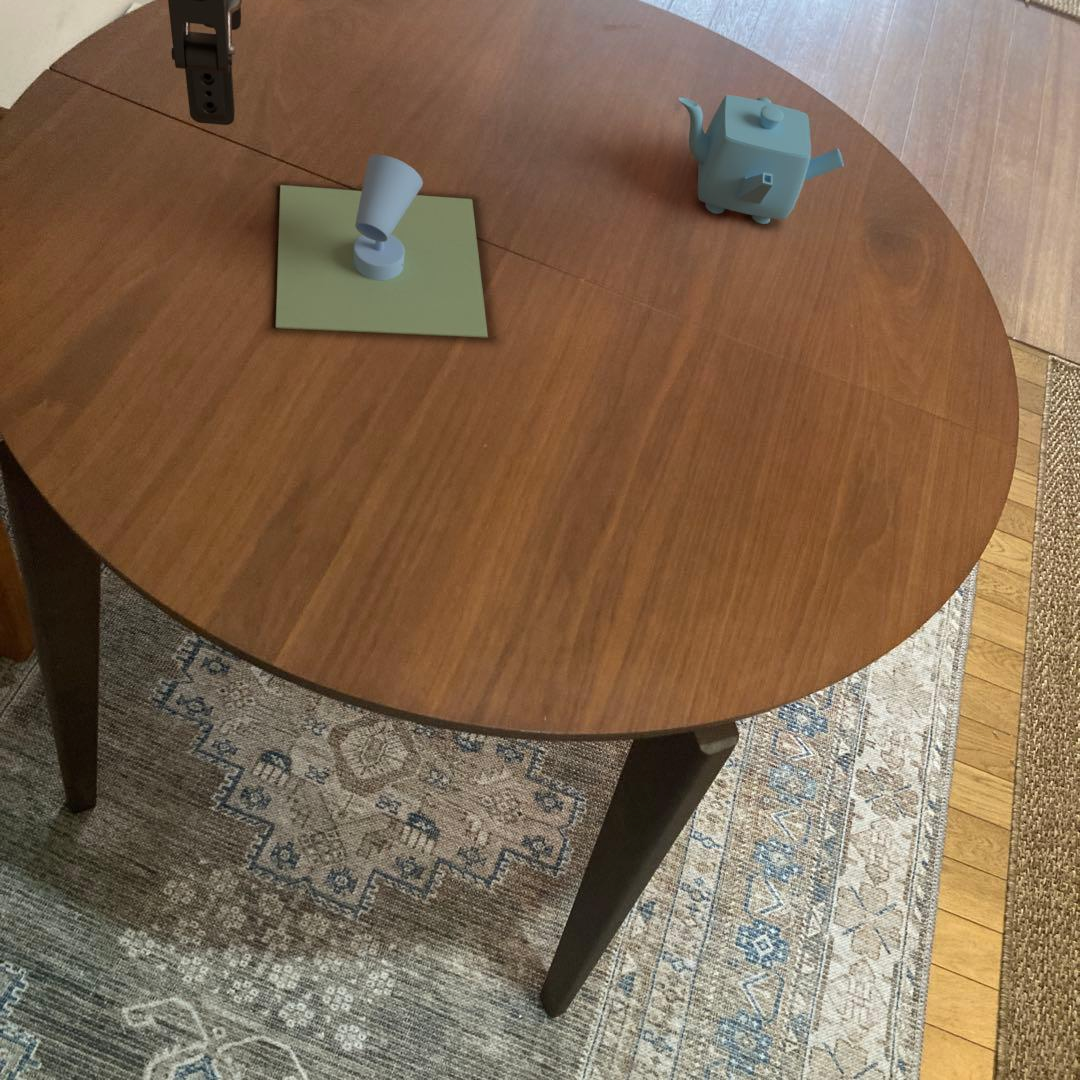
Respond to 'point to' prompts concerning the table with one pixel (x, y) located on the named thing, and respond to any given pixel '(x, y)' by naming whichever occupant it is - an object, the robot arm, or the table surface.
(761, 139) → the teapot
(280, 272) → the mat
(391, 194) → the spotlight
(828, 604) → the table surface
